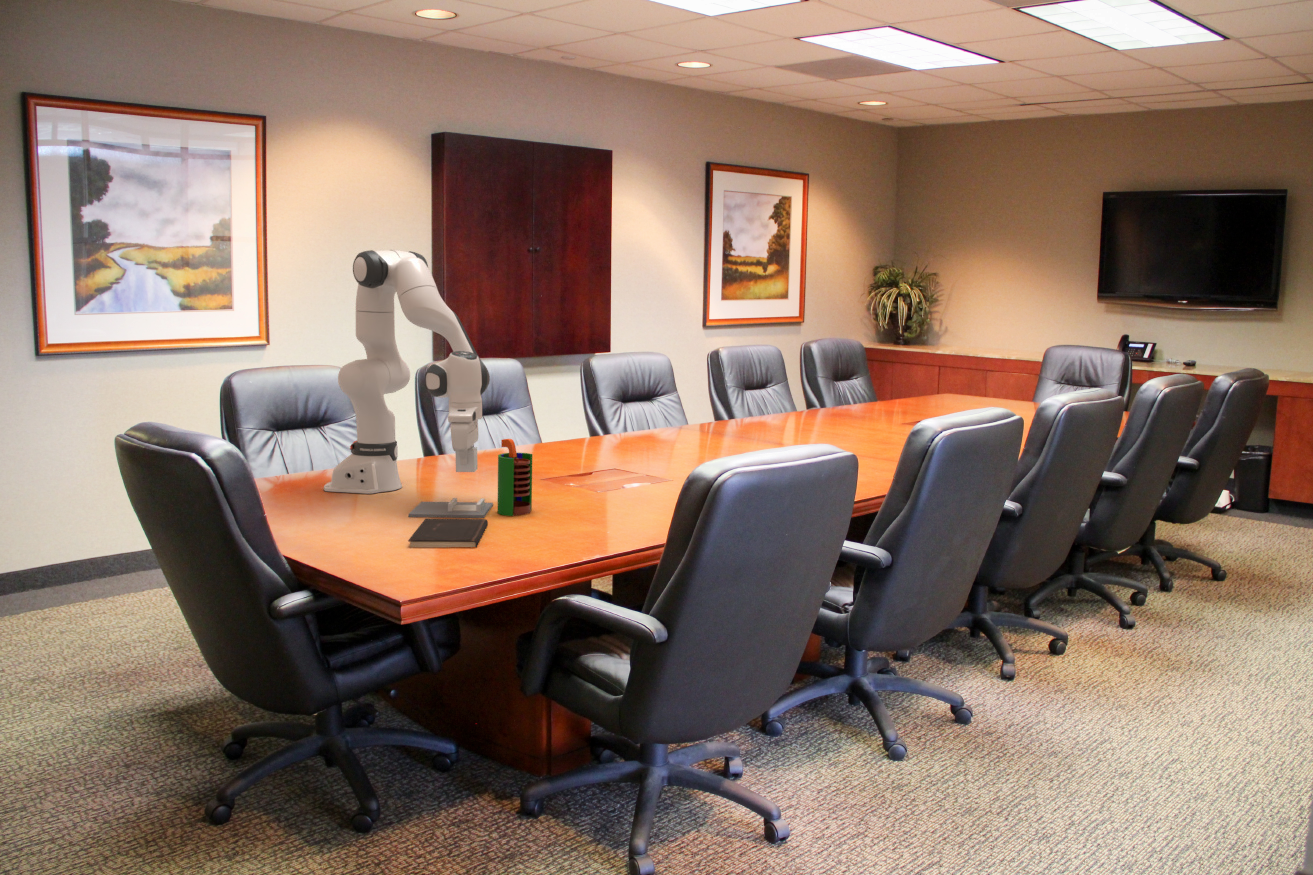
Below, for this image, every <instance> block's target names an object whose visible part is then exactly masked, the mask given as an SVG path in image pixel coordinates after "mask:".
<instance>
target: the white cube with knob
mask: <svg viewBox="0 0 1313 875" xmlns="http://www.w3.org/2000/svg"><path fill="white" fill-rule="evenodd" d="M454 452H455V453H454V454H455V473H475V472H477V470H478V447H477V446H476V447H475V446H473V447H470V448H469V449H468V452H467V458H468V464H467V465H461V464H460V455H459V451H454Z"/></svg>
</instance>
